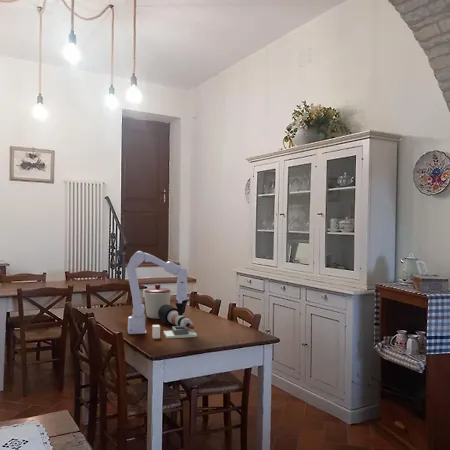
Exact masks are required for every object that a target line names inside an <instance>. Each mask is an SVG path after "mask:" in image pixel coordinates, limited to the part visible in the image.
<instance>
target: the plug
mask: <svg viewBox="0 0 450 450" xmlns="http://www.w3.org/2000/svg"><path fill="white" fill-rule="evenodd" d="M151 329H152V331H151V333H152V334H151V337H152V339H160V338H161V325H160V324H152V325H151Z"/></svg>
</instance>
